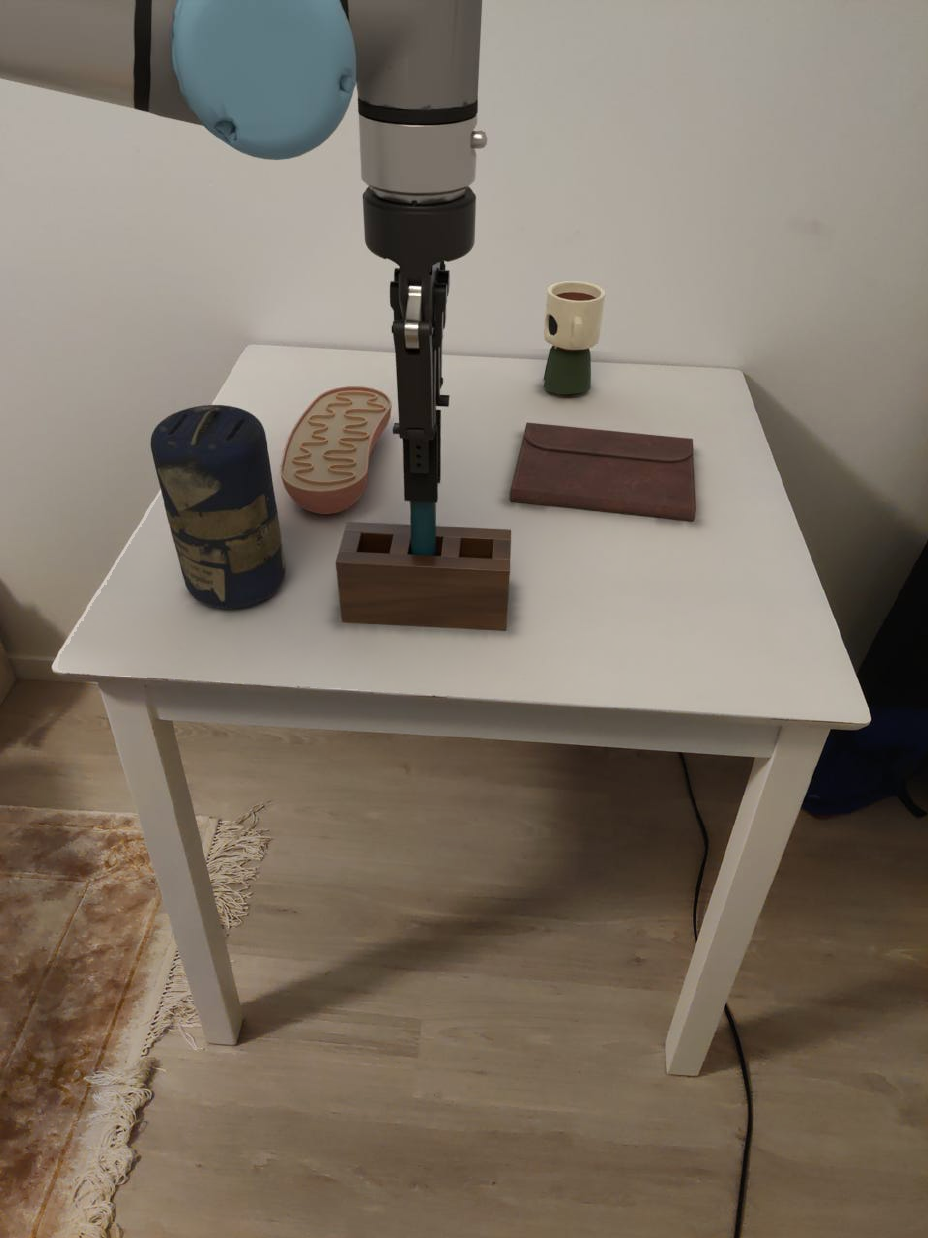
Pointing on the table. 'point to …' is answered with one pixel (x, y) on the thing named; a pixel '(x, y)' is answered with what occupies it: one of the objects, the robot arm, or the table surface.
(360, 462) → the anatomical model
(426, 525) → the pen
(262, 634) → the table surface
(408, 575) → the pen holder
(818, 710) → the table surface
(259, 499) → the canister
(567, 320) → the character mug
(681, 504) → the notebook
